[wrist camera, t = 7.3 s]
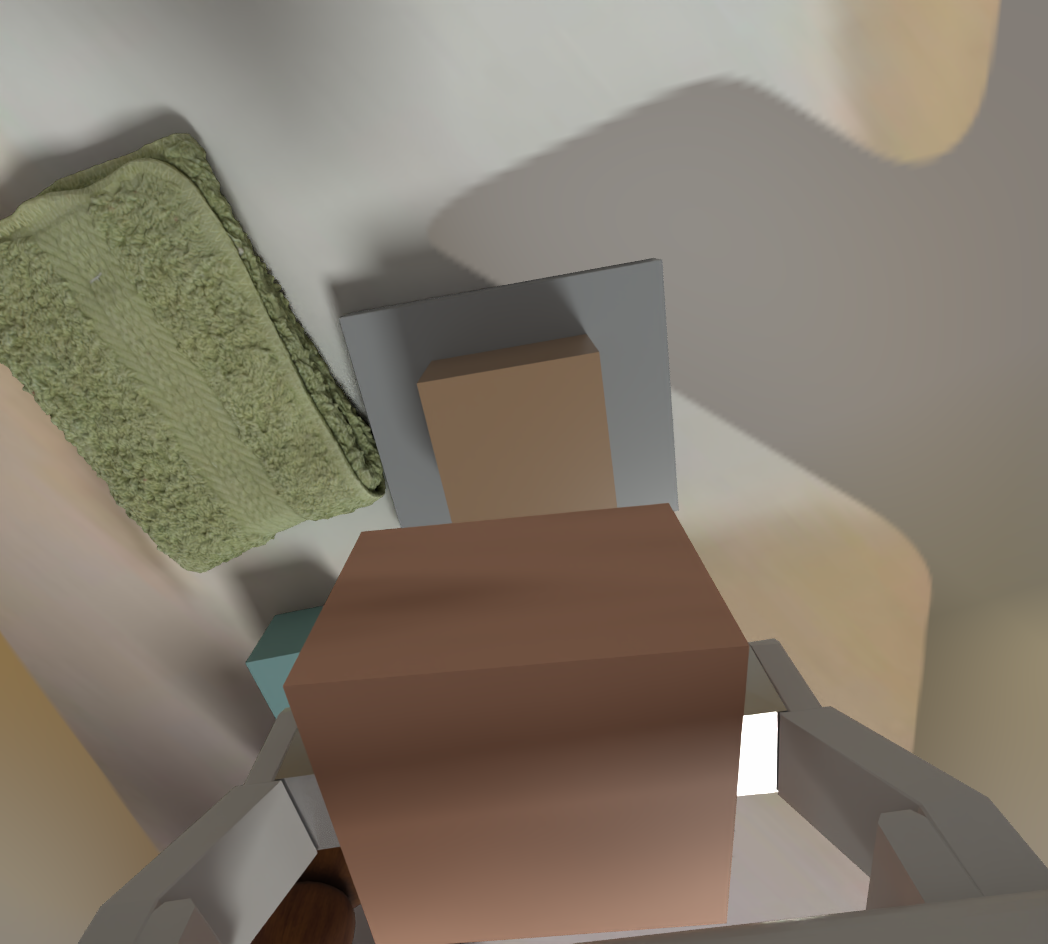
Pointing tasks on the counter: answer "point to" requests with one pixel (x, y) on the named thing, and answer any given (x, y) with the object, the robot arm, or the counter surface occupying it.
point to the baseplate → (511, 321)
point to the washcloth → (176, 358)
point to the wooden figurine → (316, 905)
